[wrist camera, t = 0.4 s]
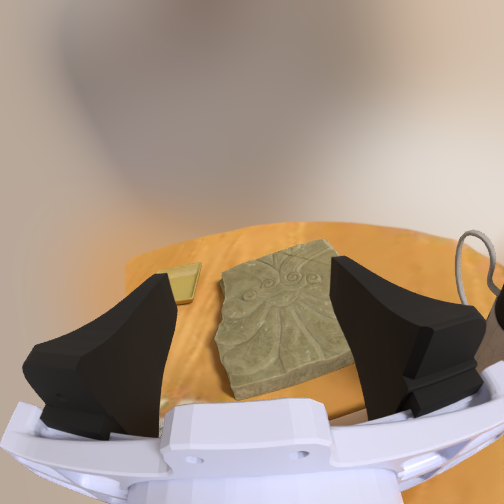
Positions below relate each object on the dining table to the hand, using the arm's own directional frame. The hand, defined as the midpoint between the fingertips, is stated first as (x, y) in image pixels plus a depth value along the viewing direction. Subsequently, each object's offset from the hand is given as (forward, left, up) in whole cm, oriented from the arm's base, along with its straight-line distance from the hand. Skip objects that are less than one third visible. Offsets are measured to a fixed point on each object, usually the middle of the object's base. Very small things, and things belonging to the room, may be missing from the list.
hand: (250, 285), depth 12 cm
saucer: (+26, +14, -20) cm, 36 cm away
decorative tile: (+15, -2, -20) cm, 25 cm away
